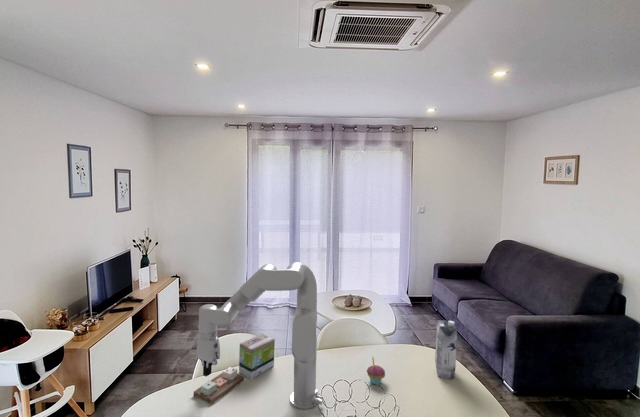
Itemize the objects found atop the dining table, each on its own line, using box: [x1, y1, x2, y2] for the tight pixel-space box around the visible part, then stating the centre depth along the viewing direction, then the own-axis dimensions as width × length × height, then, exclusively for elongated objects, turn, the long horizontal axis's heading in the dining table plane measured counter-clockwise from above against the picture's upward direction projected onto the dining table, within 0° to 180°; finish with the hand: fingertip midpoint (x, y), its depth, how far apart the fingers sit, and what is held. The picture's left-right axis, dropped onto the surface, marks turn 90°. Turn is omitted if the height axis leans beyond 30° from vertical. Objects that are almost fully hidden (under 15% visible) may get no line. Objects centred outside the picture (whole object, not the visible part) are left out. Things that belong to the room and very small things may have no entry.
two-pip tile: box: [222, 366, 238, 381], centre depth 157 cm, size 5×5×3 cm
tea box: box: [238, 333, 276, 380], centre depth 166 cm, size 15×10×15 cm
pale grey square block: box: [200, 380, 217, 396], centre depth 145 cm, size 5×5×3 cm
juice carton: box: [434, 319, 458, 380], centre depth 165 cm, size 9×10×27 cm
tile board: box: [193, 372, 245, 405], centre depth 151 cm, size 11×20×2 cm, turn 151°
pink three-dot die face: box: [214, 378, 228, 388], centre depth 151 cm, size 5×5×3 cm
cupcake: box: [366, 355, 386, 385], centre depth 158 cm, size 9×8×12 cm
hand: (207, 374), depth 145 cm, fingers closed
